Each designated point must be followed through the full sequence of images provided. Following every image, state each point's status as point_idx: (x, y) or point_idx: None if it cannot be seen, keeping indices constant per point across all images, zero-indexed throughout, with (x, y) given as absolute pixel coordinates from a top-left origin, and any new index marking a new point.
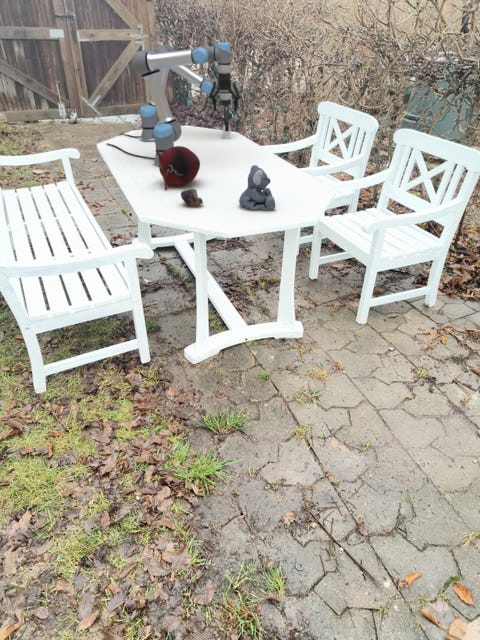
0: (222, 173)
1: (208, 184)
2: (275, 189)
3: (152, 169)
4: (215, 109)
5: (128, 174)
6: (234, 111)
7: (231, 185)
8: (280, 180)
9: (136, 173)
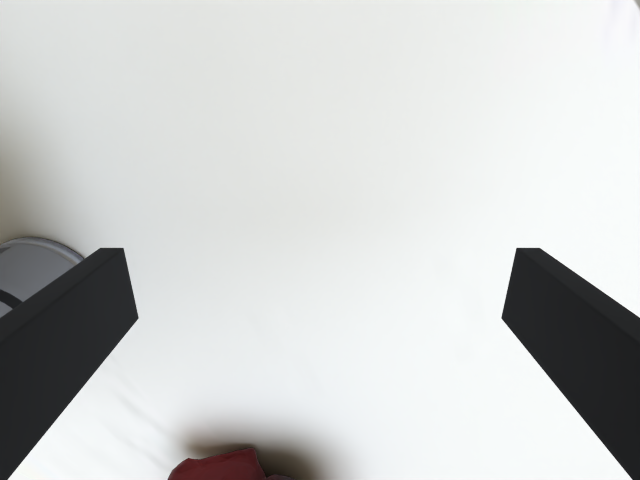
0: (372, 350)
1: (363, 462)
2: None
3: None
4: (124, 302)
5: None
6: (510, 321)
7: (447, 453)
8: None
9: None
